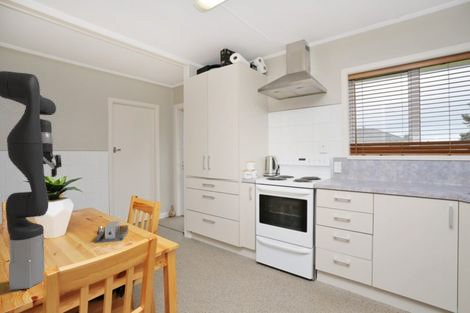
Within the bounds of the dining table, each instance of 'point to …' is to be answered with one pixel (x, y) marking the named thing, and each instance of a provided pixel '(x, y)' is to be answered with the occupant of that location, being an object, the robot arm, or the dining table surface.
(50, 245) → the dining table surface
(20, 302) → the dining table surface
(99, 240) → the grey channel bracket
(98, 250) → the dining table surface
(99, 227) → the hitch pin
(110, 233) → the grey metal block
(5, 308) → the dining table surface
